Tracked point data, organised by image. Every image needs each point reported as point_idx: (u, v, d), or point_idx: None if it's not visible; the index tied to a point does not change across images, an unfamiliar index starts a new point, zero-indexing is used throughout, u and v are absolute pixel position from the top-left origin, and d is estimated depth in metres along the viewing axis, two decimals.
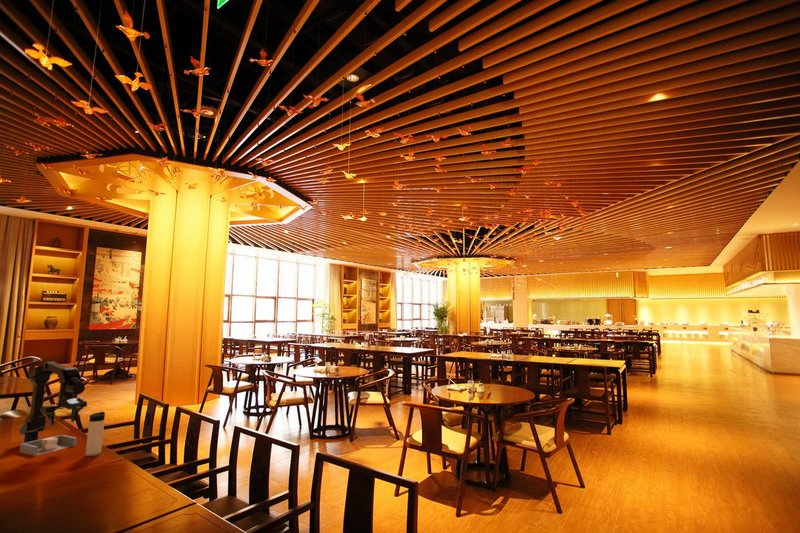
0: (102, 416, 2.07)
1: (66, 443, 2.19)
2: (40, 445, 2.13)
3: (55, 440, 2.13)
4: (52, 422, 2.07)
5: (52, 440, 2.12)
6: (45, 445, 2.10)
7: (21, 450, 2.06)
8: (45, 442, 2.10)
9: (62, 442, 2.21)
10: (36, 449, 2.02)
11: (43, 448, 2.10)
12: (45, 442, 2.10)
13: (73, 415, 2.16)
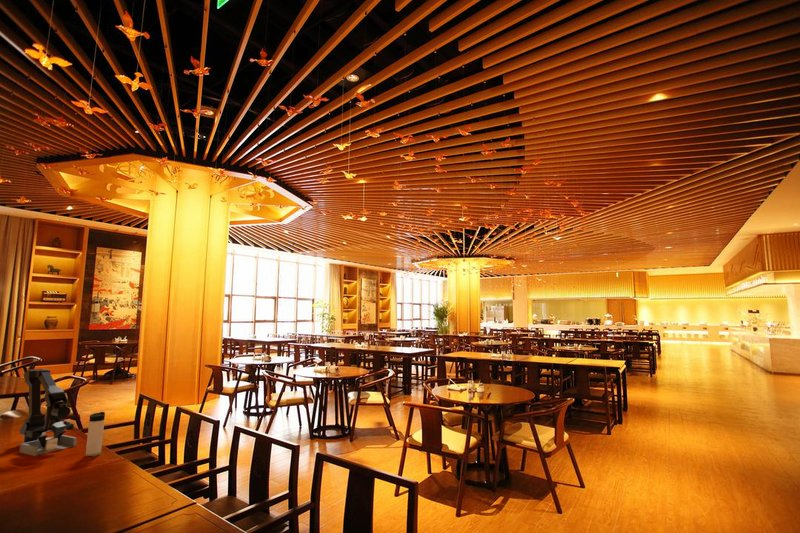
0: (102, 416, 2.07)
1: (66, 443, 2.19)
2: (40, 445, 2.13)
3: (55, 440, 2.13)
4: (44, 445, 2.09)
5: (52, 440, 2.12)
6: (45, 445, 2.10)
7: (21, 450, 2.06)
8: None
9: (62, 442, 2.21)
10: (36, 449, 2.02)
11: None
12: None
13: None
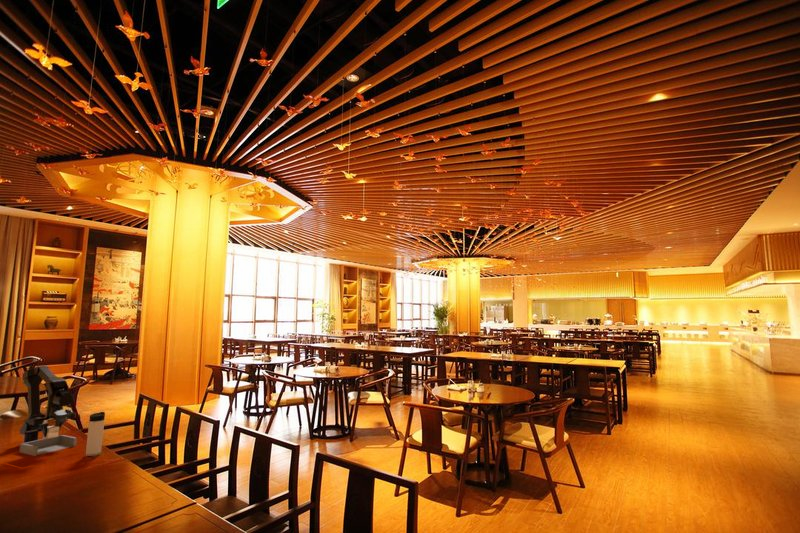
0: (102, 416, 2.07)
1: (66, 443, 2.19)
2: (40, 445, 2.13)
3: (57, 428, 2.13)
4: (45, 433, 2.10)
5: (54, 428, 2.12)
6: (47, 433, 2.11)
7: (21, 450, 2.06)
8: (47, 430, 2.11)
9: (62, 442, 2.21)
10: (36, 449, 2.02)
11: None
12: (47, 430, 2.11)
13: None
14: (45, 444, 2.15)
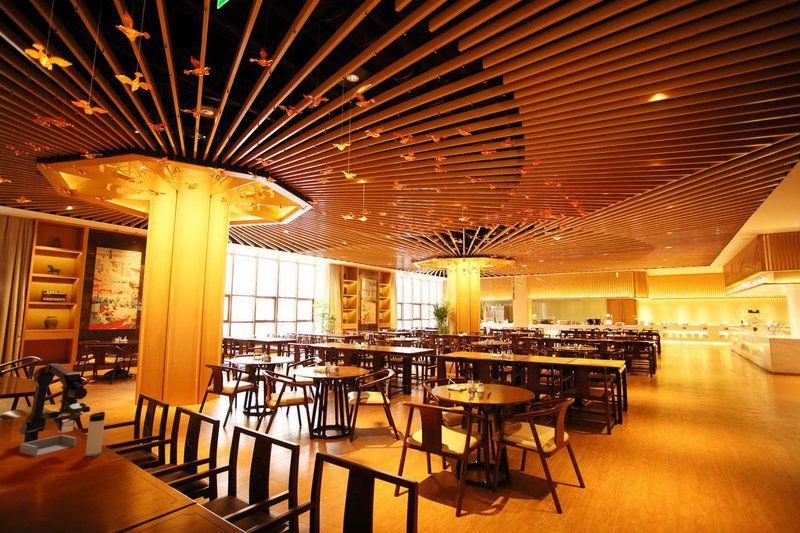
0: (102, 416, 2.07)
1: (66, 443, 2.19)
2: (40, 445, 2.13)
3: (71, 422, 2.09)
4: (60, 427, 2.06)
5: (68, 422, 2.08)
6: None
7: (21, 450, 2.06)
8: None
9: (62, 442, 2.21)
10: (36, 449, 2.02)
11: None
12: (62, 424, 2.07)
13: None
14: (45, 444, 2.15)
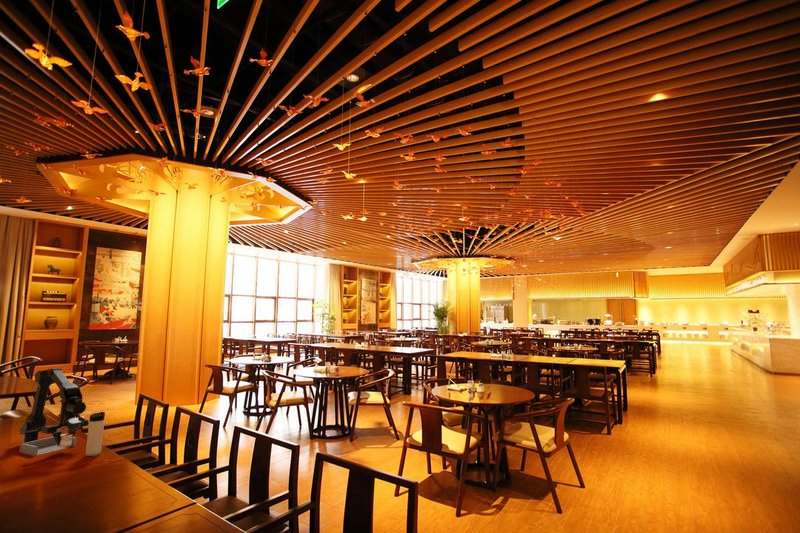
0: (102, 416, 2.07)
1: None
2: (40, 445, 2.13)
3: (70, 436, 2.09)
4: (58, 441, 2.05)
5: (67, 436, 2.07)
6: (60, 441, 2.06)
7: (21, 450, 2.06)
8: (60, 439, 2.06)
9: None
10: (36, 449, 2.02)
11: None
12: (60, 438, 2.06)
13: None
14: (45, 444, 2.15)
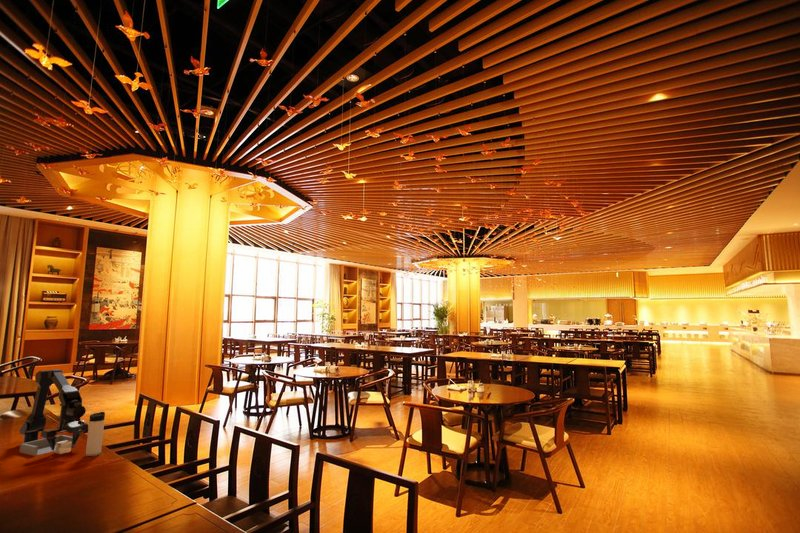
0: (102, 416, 2.07)
1: None
2: (40, 445, 2.13)
3: (69, 443, 2.08)
4: (53, 446, 2.03)
5: (66, 443, 2.07)
6: (59, 448, 2.05)
7: (21, 450, 2.06)
8: (59, 446, 2.05)
9: None
10: (36, 449, 2.02)
11: (57, 451, 2.06)
12: (59, 445, 2.05)
13: (74, 438, 2.12)
14: (45, 444, 2.15)
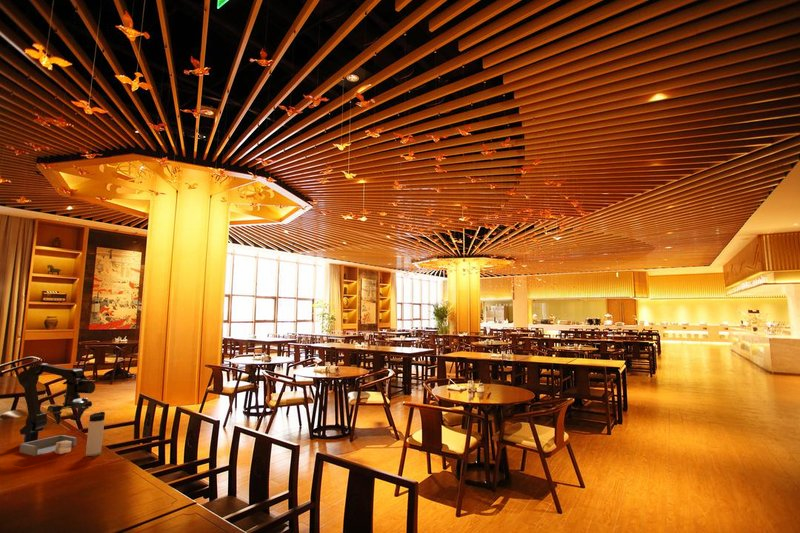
0: (102, 416, 2.07)
1: None
2: (40, 445, 2.13)
3: (69, 443, 2.08)
4: (58, 421, 2.17)
5: (66, 443, 2.07)
6: (59, 448, 2.05)
7: (21, 450, 2.06)
8: (59, 446, 2.05)
9: None
10: (36, 449, 2.02)
11: (57, 451, 2.06)
12: (59, 445, 2.05)
13: (78, 414, 2.26)
14: (45, 444, 2.15)
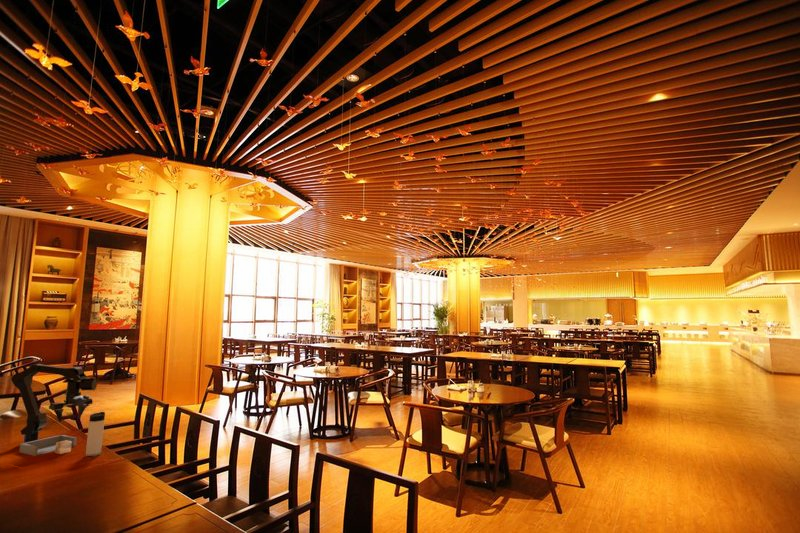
0: (102, 416, 2.07)
1: None
2: (40, 445, 2.13)
3: (69, 443, 2.08)
4: (60, 418, 2.21)
5: (66, 443, 2.07)
6: (59, 448, 2.05)
7: (21, 450, 2.06)
8: (59, 446, 2.05)
9: None
10: (36, 449, 2.02)
11: (57, 451, 2.06)
12: (59, 445, 2.05)
13: (80, 412, 2.30)
14: (45, 444, 2.15)
